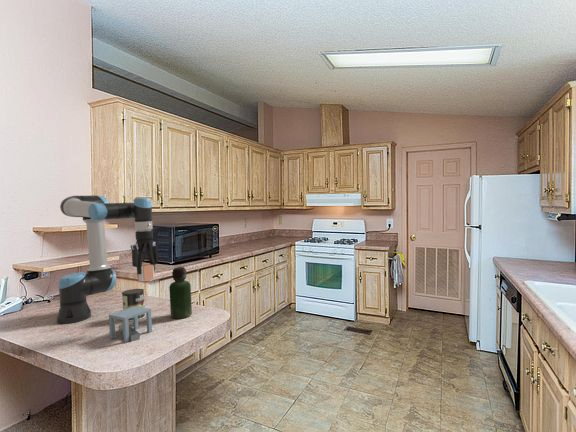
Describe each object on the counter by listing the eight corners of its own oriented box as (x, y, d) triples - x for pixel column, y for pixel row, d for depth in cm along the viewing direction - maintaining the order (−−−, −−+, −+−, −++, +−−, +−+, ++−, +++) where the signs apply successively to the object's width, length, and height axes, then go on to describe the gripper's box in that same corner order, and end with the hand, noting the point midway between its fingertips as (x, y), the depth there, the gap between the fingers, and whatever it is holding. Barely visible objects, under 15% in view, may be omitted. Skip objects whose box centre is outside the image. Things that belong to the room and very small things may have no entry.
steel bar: (118, 331, 151) (118, 325, 151) (126, 329, 153) (126, 323, 153) (131, 342, 138) (130, 335, 138) (139, 340, 140) (139, 333, 140)
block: (137, 280, 153) (136, 266, 153) (146, 278, 157) (145, 264, 157) (144, 281, 151) (143, 266, 150) (153, 279, 155) (152, 264, 155)
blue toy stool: (110, 338, 142) (108, 314, 142) (136, 327, 153) (135, 306, 153) (126, 342, 137) (124, 318, 136) (152, 331, 148) (150, 308, 148)
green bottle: (169, 320, 162) (166, 270, 162) (172, 313, 173) (170, 267, 172) (191, 318, 165) (188, 269, 164) (192, 311, 175) (190, 265, 174)
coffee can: (149, 315, 172) (148, 288, 171) (136, 322, 162) (135, 294, 161) (132, 314, 174) (130, 288, 173) (118, 321, 164) (117, 293, 163)
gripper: (132, 232, 143) (134, 284, 144) (165, 229, 159) (167, 276, 160) (121, 232, 147) (124, 283, 147) (154, 228, 163) (157, 275, 163)
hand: (146, 279), depth 154 cm, fingers closed on block, 5 cm apart
